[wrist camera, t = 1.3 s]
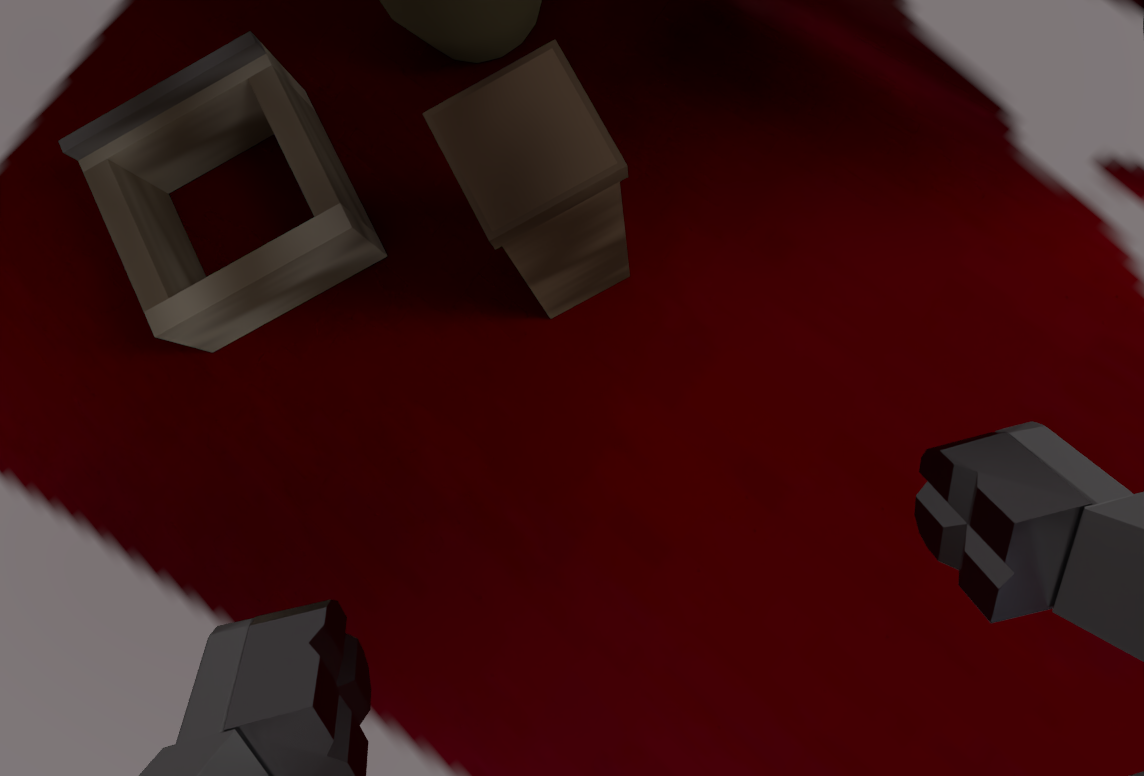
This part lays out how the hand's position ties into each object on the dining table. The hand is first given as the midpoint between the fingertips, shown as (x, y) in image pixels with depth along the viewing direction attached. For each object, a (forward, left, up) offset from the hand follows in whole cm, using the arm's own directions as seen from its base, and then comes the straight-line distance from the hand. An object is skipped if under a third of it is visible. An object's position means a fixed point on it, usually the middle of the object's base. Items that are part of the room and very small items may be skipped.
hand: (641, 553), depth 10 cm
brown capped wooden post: (-2, -11, -21) cm, 24 cm away
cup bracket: (+10, -20, -21) cm, 31 cm away
